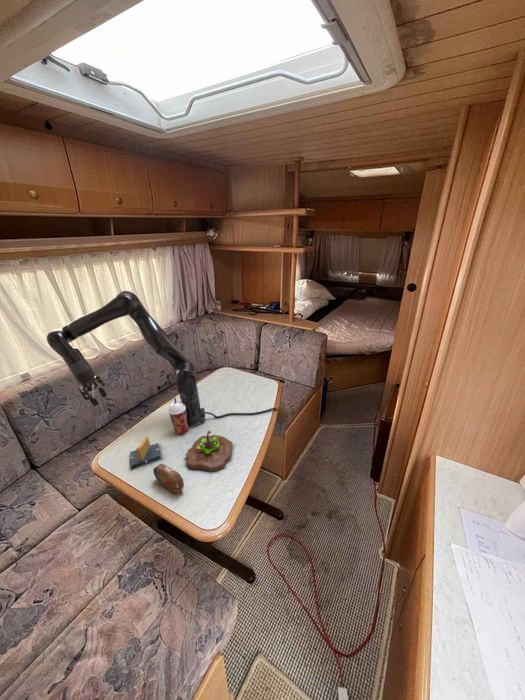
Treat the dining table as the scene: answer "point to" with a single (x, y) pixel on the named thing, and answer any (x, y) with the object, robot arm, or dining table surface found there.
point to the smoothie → (178, 416)
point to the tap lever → (143, 448)
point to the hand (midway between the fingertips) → (101, 400)
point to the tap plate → (150, 456)
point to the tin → (168, 478)
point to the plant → (209, 453)
